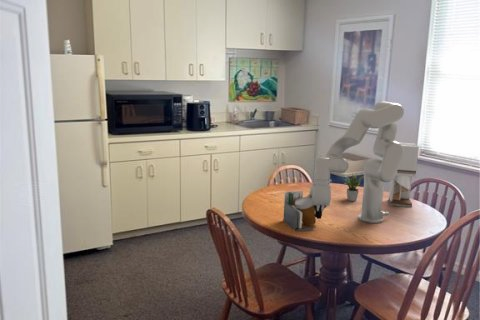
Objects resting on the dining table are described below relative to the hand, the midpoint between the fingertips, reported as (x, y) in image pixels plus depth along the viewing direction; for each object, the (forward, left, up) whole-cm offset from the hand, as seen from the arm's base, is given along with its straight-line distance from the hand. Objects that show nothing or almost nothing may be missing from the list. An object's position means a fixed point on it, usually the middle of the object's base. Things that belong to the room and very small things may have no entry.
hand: (318, 217), depth 201 cm
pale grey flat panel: (+12, 0, -3) cm, 12 cm away
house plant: (-39, -31, -3) cm, 50 cm away
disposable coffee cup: (+4, 0, -2) cm, 5 cm away
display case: (-63, -20, -3) cm, 66 cm away
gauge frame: (+10, 0, -3) cm, 10 cm away
